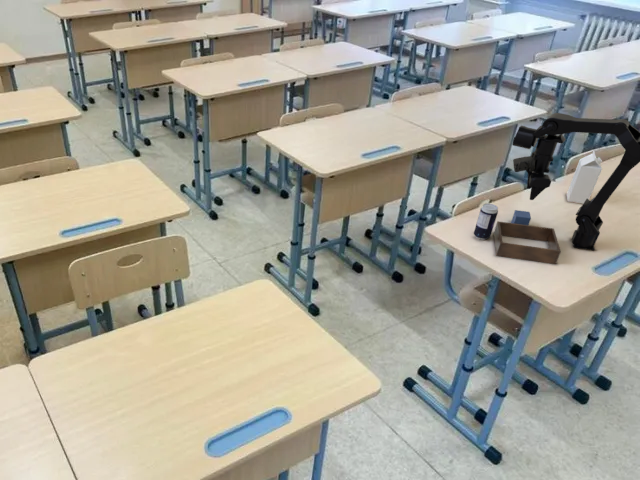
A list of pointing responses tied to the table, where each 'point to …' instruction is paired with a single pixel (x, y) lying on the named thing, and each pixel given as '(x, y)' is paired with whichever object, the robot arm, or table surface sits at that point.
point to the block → (521, 217)
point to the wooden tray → (526, 251)
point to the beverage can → (486, 221)
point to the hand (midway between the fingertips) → (529, 194)
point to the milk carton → (584, 179)
